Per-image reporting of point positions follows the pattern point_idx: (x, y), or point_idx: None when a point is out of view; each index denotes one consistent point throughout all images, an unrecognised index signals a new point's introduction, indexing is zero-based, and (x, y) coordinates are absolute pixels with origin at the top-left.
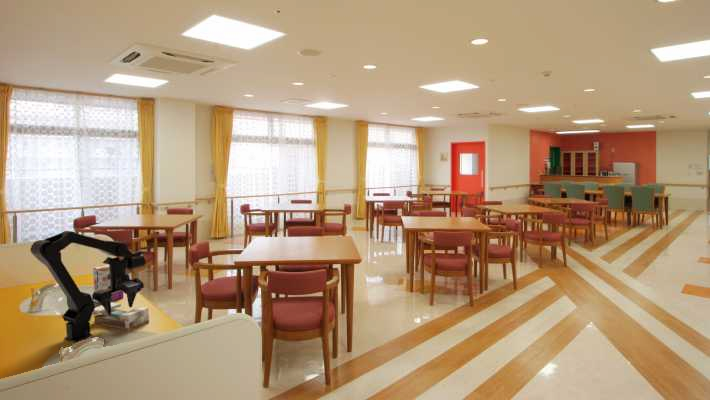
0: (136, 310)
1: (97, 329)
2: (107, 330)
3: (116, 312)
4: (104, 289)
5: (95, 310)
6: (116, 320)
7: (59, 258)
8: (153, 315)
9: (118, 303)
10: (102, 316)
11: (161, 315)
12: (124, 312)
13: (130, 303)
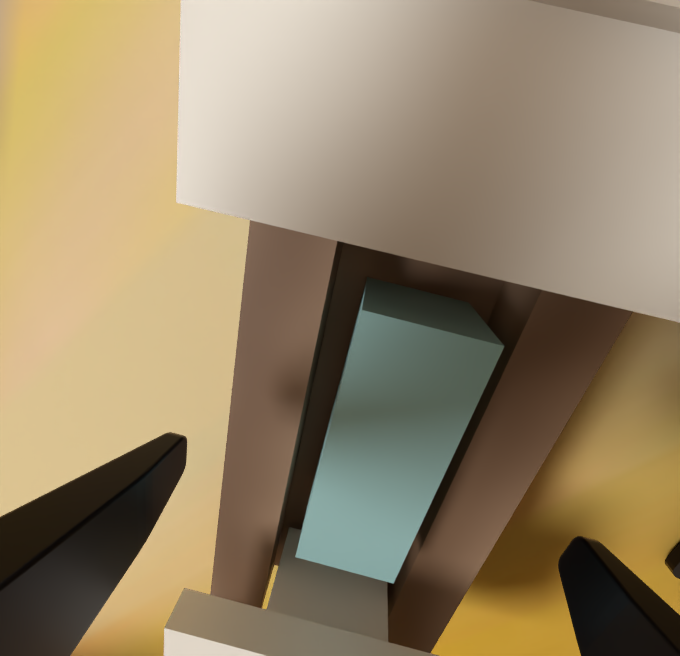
0: None
1: (572, 487)
2: (615, 381)
3: (362, 528)
4: None
5: None
6: (594, 374)
7: None
8: (76, 156)
9: (165, 654)
10: (434, 598)
11: (22, 18)
12: (342, 430)
13: (138, 504)
